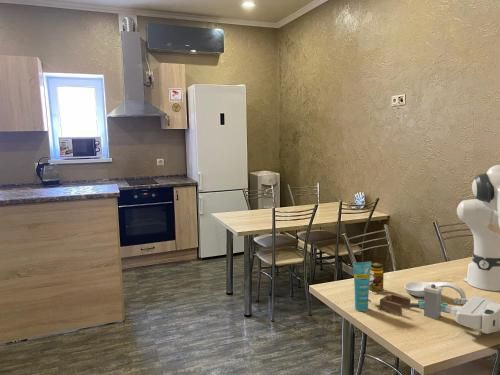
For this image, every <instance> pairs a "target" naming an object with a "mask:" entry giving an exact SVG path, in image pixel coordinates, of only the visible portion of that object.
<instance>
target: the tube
mask: <svg viewBox="0 0 500 375" xmlns="http://www.w3.org/2000/svg"><path fill="white" fill-rule="evenodd" d="M371 263H372V261H371V260H370V261H365V262H353V263H352V267H353V269H352V270H353V282H354V285H353V286H354V309H355V310H356V311H359V312H366V311H368V309H369V308H368V307H369V303H368V299H369V292H370V291H369V281H370V270H371Z"/></svg>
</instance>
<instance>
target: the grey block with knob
mask: <svg viewBox="0 0 500 375" xmlns="http://www.w3.org/2000/svg"><path fill="white" fill-rule="evenodd" d="M424 291H425V297H423V298H424V299H423V300H424V309H423V316H424V317H426V318H430V319H434V320H438V318H439V317H440V316H441V315H442V314H441V313H442V311H441V305H442V291H443V288H442V287H439V286H435V285H434V284H431V285H430V284H429V285H427V286H426V287H424Z"/></svg>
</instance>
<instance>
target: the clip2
mask: <svg viewBox="0 0 500 375" xmlns="http://www.w3.org/2000/svg"><path fill="white" fill-rule="evenodd" d="M417 303H419V307H418V308H419V309H422V310H424V299H417Z"/></svg>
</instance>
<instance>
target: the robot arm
mask: <svg viewBox="0 0 500 375" xmlns="http://www.w3.org/2000/svg"><path fill="white" fill-rule="evenodd" d="M471 190H472V193H473V196H474V198H475V199H474V198H473V199H465V200H464V199H463V200H461V202H459V203H458V206H457V207H456V215H457V217H458V218H459V220H460V221H461V222H463V223H464V224H465V225H466V226H467V227H468V228H469V230H470V231H471V234H472V236H473V252H472V255H471V256H472V257H471V258H472V261H471V262H469V264H468V265H467V266H468V268H467V276H465V277H463V281H464V282H467V284H469V285H470V286H472V287H474V288H475V289H480V290H484V291H491V292H492V291H493V292H500V234H499V233H496V232H495V231H492V230H490V229H489V228H488V227H489V225H490V226H491V225H493V226H498V227H499V228H500V164H495V165H492V166H491V167H490V168H488V170H487V171H486V173H480V174H477V175H476V176H475V177H474V178H473V181H472V184H471ZM454 303H455V304H458V305H462V306H460V307H461V308H460V309H454V307H453V306H451V305H448V306H446V307H445V311H446V312H445V313H449V314H451V315H453V316H454V317H455V322H456V323H457V324H459V325H462V326H464V327H467V328H471V329H473V330H480V331H481V332H482V333H483V334H490V333H494V332H495V333H496V332H500V303H499V302H496V301H494V300H492V299H489V298H486V297H482V296H479V295H472V297H470V298H466V299H464V298H461V297H455V298H454ZM463 304H464V305H463Z"/></svg>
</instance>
